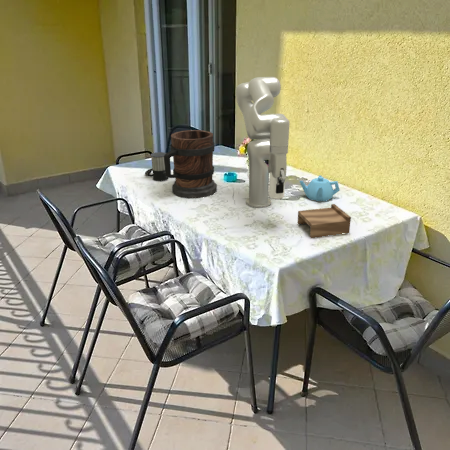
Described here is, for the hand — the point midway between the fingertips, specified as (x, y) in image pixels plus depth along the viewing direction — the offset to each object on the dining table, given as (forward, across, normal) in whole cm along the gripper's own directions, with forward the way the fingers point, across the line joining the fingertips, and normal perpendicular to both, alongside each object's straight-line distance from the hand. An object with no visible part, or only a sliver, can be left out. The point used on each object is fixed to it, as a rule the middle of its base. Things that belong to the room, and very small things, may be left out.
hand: (276, 189), depth 183 cm
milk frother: (+19, -79, -46) cm, 93 cm away
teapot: (+17, -25, +32) cm, 44 cm away
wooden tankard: (+18, -50, -30) cm, 61 cm away
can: (+3, 0, 0) cm, 3 cm away
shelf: (+16, +10, +18) cm, 26 cm away
